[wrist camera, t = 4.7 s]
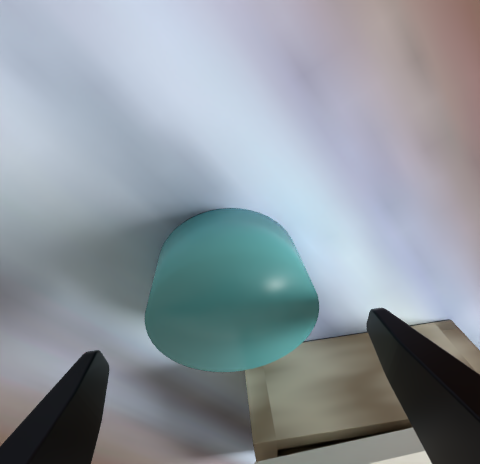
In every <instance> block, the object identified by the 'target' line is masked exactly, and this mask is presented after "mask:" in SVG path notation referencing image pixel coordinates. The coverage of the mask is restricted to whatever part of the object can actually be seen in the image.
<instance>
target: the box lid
mask: <svg viewBox="0 0 480 464" xmlns="http://www.w3.org/2000/svg"><path fill="white" fill-rule="evenodd" d="M255 464H432V463H431V461H430V459H429V457H428V455H427V453H426V451H425V450H424V448H423V446H422V444H421V442H420V440H419V438H418V436H417V435H416V433H415V431H414V429H413V428H408V429H404V430H399V431H395V432H390V433H386V434H381V435H376V436H372V437H367V438H363V439H358V440H354V441H349V442H345V443H340V444H335V445H331V446H326V447H322V448H317V449H313V450H308V451H304V452H299V453H295V454H290V455H285V456H281V457H276V458H272V459H267V460H263V461H258V462H255Z"/></svg>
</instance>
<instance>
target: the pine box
mask: <svg viewBox="0 0 480 464" xmlns="http://www.w3.org/2000/svg"><path fill="white" fill-rule="evenodd" d="M411 327H412V328H414V329H415V330H417V331H418V332H419V333H421V334H422V335H424V336H425V337H427V338H428V339H429V340H431V341H432V342H434V343H435V344H437V345H438V346H440V347H441V348H442V349H444V350H445V351H447V352H448V353H450V354H451V355H453V356H454V357H455V358H457V359H458V360H460V361H461V362H463V363H464V364H466V365H467V366H468V367H470V368H471V369H473V370H474V371H476V372H477V373H479V374H480V350H479V349H478V348H477V347H476V346H475V345H474V344H473V343H472V342H471V341H470V340H469V339H468V338H467V336H466V335H465V334H464V333H463V332H462V331H461V330H460V329H459V328H458V327H457V326H456V325H455V324H454V323H453V321H452V320H447V321H440V322H434V323H427V324H421V325H414V326H411ZM245 378H246V386H247V395H248V404H249V412H250V421H251V430H252V438H253V446H254V451H255V457H256V462H258V461H263V460H267V459H272V458H276V457H281V456H285V455H290V454H295V453H299V452H304V451H308V450H313V449H317V448H322V447H326V446H331V445H335V444H340V443H345V442H349V441H354V440H358V439H363V438H367V437H372V436H376V435H381V434H386V433H390V432H395V431H399V430H404V429H408V428H413V427H412V425H411V423H410V421H409V419H408V418H407V416H406V414H405V412H404V410H403V408H402V406H401V404H400V402H399V401H398V399H397V397H396V395H395V393H394V391H393V389H392V387H391V385H390V383H389V381H388V379H387V377H386V375H385V373H384V371H383V368H382V366H381V363H380V361H379V359H378V356H377V354H376V351H375V349H374V346H373V344H372V341H371V339H370V336H369V334H368V333H361V334H355V335H348V336H341V337H335V338H328V339H322V340H315V341H308V342H302V343H301V344H300V345H299V346H298V347H297V348H296V349H294V350H293V351H292V352H290V353H289V354H287V355H285V356H284V357H282V358H280V359H278V360H276V361H274V362H271V363H269V364H266V365H263V366H260V367H257V368H253V369H248V370H245Z"/></svg>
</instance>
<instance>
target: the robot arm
mask: <svg viewBox="0 0 480 464" xmlns="http://www.w3.org/2000/svg"><path fill="white" fill-rule="evenodd" d="M367 331H368V334H369V336H370V339H371V341H372V344H373V346H374V349H375V351H376V354H377V356H378V359H379V361H380V363H381V366H382V368H383V371H384V373H385V375H386V377H387V379H388V381H389V383H390V385H391V387H392V389H393V391H394V393H395V395H396V397H397V399H398V401H399V402H400V404H401V406H402V408H403V410H404V412H405V414H406V416H407V418H408V419H409V421H410V423H411V425H412V427H413V429H414V431H415V433H416V435H417V436H418V438H419V440H420V442H421V444H422V446H423V448H424V450H425V451H426V453H427V455H428V457H429V459H430V461H431V463H432V464H480V374H479V373H477V372H476V371H474V370H473V369H471V368H470V367H468V366H467V365H466V364H464V363H463V362H461V361H460V360H458V359H457V358H455V357H454V356H453V355H451V354H450V353H448V352H447V351H445V350H444V349H442V348H441V347H440V346H438V345H437V344H435V343H434V342H432V341H431V340H429V339H428V338H427V337H425V336H424V335H422V334H421V333H419V332H418V331H417V330H415V329H414V328H412V327H411V326H409V325H408V324H406V323H405V322H404V321H402V320H401V319H399V318H398V317H396V316H395V315H393V314H392V313H391V312H389V311H388V310H386V309H384V308H376V309H371V310H370V312H369V316H368V321H367ZM108 376H109V364H108V362H107V361H106V359H105V358H104V356H103V354H102V353H101V352H100V351H99V350H95V351H88V352H86V353H84V354H83V355H82V356H81V357H80V358H79V360H78V361H77V362H76V363H75V364H74V365H73V366H72V367H71V368H70V370H69V371H68V372H67V373H66V374H65V375H64V376H63V377H62V378H61V380H60V381H59V382H58V383H57V384H56V385H55V386H54V387H53V388H52V390H51V391H50V392H49V393H48V394H47V395H46V396H45V397H44V398H43V400H42V401H41V402H40V403H39V404H38V405H37V406H36V407H35V408H34V410H33V411H32V412H31V413H30V414H29V415H28V416H27V417H26V418H25V420H24V421H23V422H22V423H21V424H20V425H19V426H18V427H17V428H16V430H15V431H14V432H13V433H12V434H11V435H10V436H9V437H8V438H7V440H6V441H5V442H4V443H3V444H2V445H1V446H0V464H91V461H92V457H93V453H94V449H95V446H96V442H97V438H98V434H99V430H100V425H101V421H102V415H103V409H104V403H105V396H106V389H107V383H108Z"/></svg>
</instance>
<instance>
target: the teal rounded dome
mask: <svg viewBox="0 0 480 464" xmlns="http://www.w3.org/2000/svg"><path fill="white" fill-rule="evenodd" d="M318 313H319V301H318V296H317V293H316V291H315V288H314V286H313V284H312V282H311V280H310V278H309V275H308V273H307V271H306V269H305V267H304V265H303V263H302V260H301V258H300V256H299V254H298V252H297V250H296V247H295V245H294V243H293V241H292V239H291V237H290V236H289V234H288V233H287V232H286V230H285V229H284V228H283V227H282V226H281V225H279V224H278V223H277V222H276V221H274V220H273V219H271V218H269V217H268V216H265V215H263V214H261V213H258V212H254V211H251V210H245V209H236V208H227V209H217V210H212V211H208V212H205V213H202V214H199V215H197V216H194V217H192V218H190V219H189V220H187V221H185V222H184V223H182V224H181V225H180V226H179V227H177V228H176V229H175V230H174V231H173V232H172V233H171V234H170V235H169V237H168V238H167V240H166V241H165V243H164V245H163V247H162V249H161V252H160V256H159V260H158V264H157V268H156V272H155V276H154V280H153V284H152V288H151V292H150V296H149V300H148V304H147V308H146V312H145V326H146V330H147V333H148V336H149V338H150V339H151V341H152V343H153V344H154V345H155V346H156V348H157V349H158V350H159V351H160V352H162V353H163V354H164V355H165V356H167V357H168V358H170V359H171V360H173V361H175V362H177V363H179V364H182V365H184V366H187V367H190V368H194V369H198V370H203V371H212V372H235V371H243V370H248V369H253V368H257V367H260V366H263V365H266V364H269V363H271V362H274V361H276V360H278V359H280V358H282V357H284V356H285V355H287V354H289V353H290V352H292V351H293V350H294V349H296V348H297V347H298V346H299V345H300V344H301V343H302V342H303V341H304V340H305V339H306V338H307V337H308V335H309V334H310V333H311V331H312V330H313V328H314V326H315V324H316V321H317V318H318Z"/></svg>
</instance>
